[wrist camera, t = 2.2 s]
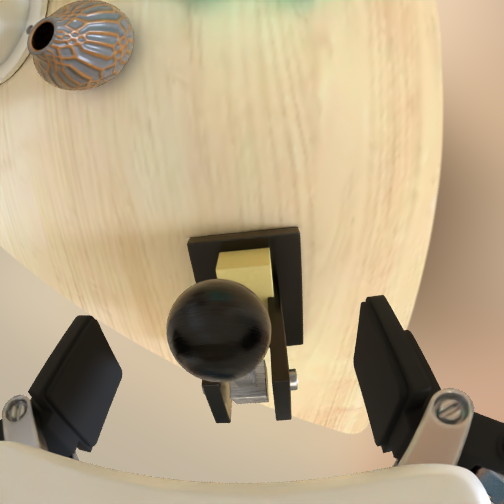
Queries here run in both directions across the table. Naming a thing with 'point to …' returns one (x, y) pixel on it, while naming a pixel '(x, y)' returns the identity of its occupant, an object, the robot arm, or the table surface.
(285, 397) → the black lever base
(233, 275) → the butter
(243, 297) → the ball knob lever
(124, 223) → the table surface
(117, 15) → the vase
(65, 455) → the robot arm
